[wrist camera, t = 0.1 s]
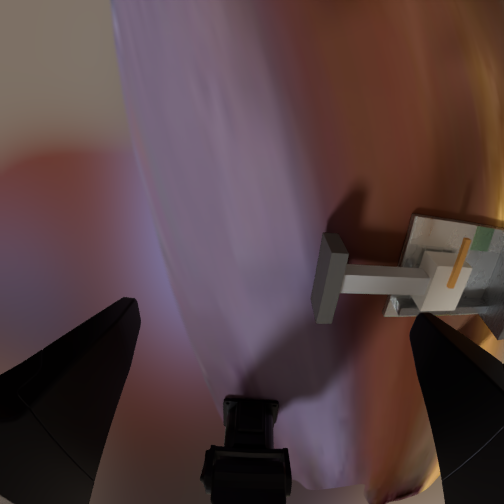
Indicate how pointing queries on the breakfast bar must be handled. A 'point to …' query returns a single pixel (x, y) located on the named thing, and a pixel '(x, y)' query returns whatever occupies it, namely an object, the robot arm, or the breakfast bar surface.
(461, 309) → the track
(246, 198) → the breakfast bar surface
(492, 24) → the breakfast bar surface
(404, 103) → the breakfast bar surface
